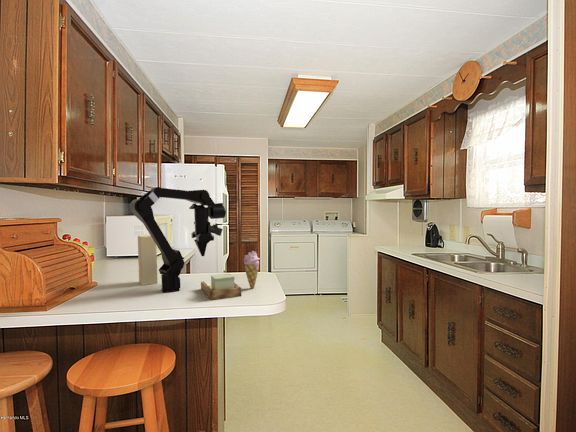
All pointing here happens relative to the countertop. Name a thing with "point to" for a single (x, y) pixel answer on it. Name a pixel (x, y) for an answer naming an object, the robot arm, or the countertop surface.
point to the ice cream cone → (251, 267)
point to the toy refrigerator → (147, 260)
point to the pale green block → (222, 281)
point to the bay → (220, 292)
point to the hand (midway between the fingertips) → (202, 256)
